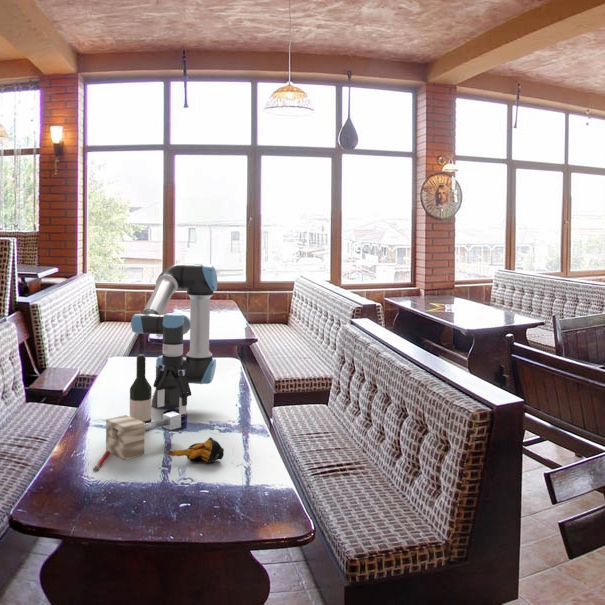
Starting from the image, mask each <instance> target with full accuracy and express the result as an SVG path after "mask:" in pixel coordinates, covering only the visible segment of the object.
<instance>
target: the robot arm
mask: <svg viewBox="0 0 605 605" xmlns="http://www.w3.org/2000/svg"><path fill="white" fill-rule="evenodd" d="M178 290H179V291H180V290H182V291H186V296H188V297H189V300H190V304H189V305H190V307H189V308H190V309H189V310H190V312H189V317H188V316H187V315H185V314H182V313H179V312H170V313H169V312H168V313H165V311H166V308H167V307H168V304H169V302H170V300H171V298H172V295H173V294H175V293H176V292H177V291H178ZM217 290H218V276H217V270H216V268H215V267H214V265H211V264H206V263H205V264H204V263H182V262H181V263H176V264H172V265H171V266H168V267H167V268H166V269H164V270H163V271H162V272H161V273H159V275H158V277H157V279H156V281H155V288H154V290H153V292H152V293H151V296H149V299H148V301H147V303H146V305H145V308H143V311H142V312H141V313H135V314H133V315H132V317H131V321H130V322H131V323H130V326H131V327H130V328H131V331H132V332H133V333H134V334H142V335H162V355H159V356H157V357H156V363H155V379H154V382H153V388H155V390H154V393H153V396H152V397H151V407H153V408H157V409H162V410H171V409H178V410H179V411H178V414H180V415H181V416H182V415H185V414H187V406H188V397H190V396H192V390H191V387H190V384H197V385H198V384H200V385H209V384H211V383H212V381H213V380H214V378H215V372H216V367H217V359H216V358H214V357H213V353H212V352H211V351H210V322H211V321H210V320H211V319H210V314H211V312H210V310H211V309H210V307H211V298H212V297H214V292H216V291H217ZM164 313H165V314H164ZM188 332H189V351H187V353H186V354H185V355H186V356H183V353H184V335H186V334H187V333H188Z"/></svg>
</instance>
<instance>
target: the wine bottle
mask: <svg viewBox="0 0 605 605" xmlns="http://www.w3.org/2000/svg"><path fill="white" fill-rule="evenodd" d="M152 391H153V390H152V386H151V384H150V383H149V380H148V379H147V378H146V356H145V354H144V353H141V354H137V356H136V378H135V380H134V381H133V382H132V384H131V386H130V388H129V417H132V418H134V419H137V420H139V421H142V422H145V424H146V423H151V422H152ZM148 431H149V430H146V431H145V432H148Z"/></svg>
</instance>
